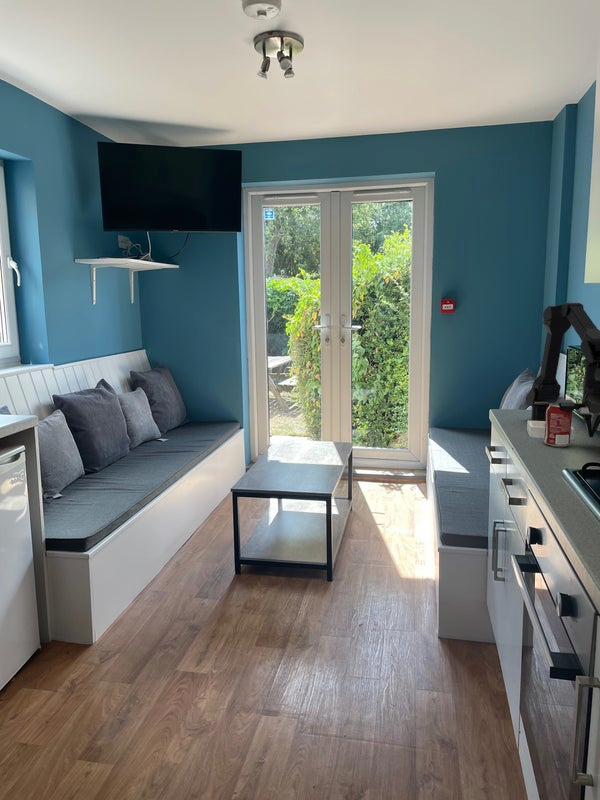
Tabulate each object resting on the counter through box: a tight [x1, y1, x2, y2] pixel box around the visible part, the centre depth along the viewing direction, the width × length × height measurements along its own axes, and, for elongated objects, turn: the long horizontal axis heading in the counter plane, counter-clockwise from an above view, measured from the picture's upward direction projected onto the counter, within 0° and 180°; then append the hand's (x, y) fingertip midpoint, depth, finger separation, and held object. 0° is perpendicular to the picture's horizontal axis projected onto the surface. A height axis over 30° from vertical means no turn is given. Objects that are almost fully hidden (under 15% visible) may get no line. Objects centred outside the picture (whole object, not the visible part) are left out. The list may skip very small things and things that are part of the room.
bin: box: [526, 420, 575, 442], centre depth 176 cm, size 9×12×4 cm
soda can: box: [543, 403, 573, 448], centre depth 164 cm, size 7×7×12 cm
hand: (590, 437), depth 163 cm, fingers closed
